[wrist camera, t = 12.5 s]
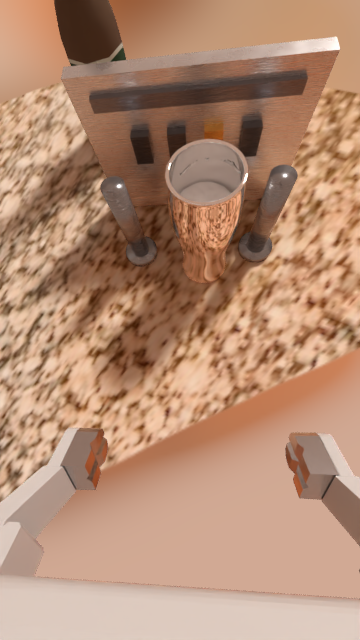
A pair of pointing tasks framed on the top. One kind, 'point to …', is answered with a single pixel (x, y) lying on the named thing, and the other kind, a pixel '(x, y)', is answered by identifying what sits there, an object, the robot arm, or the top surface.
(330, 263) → the top surface
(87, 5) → the beer bottle
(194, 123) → the panel
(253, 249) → the post right
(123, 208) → the post left
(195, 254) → the beer glass
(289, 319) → the top surface
